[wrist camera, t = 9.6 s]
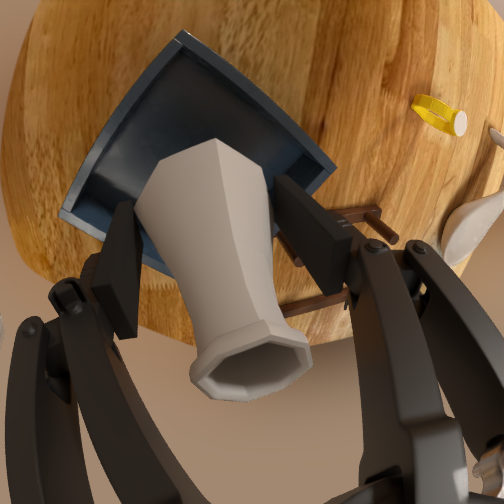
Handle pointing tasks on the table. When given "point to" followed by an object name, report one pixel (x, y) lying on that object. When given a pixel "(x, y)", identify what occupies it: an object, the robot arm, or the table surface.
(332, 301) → the drying rack
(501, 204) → the spoon rest
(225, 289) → the flask
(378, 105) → the table surface
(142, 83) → the basin
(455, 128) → the watch
